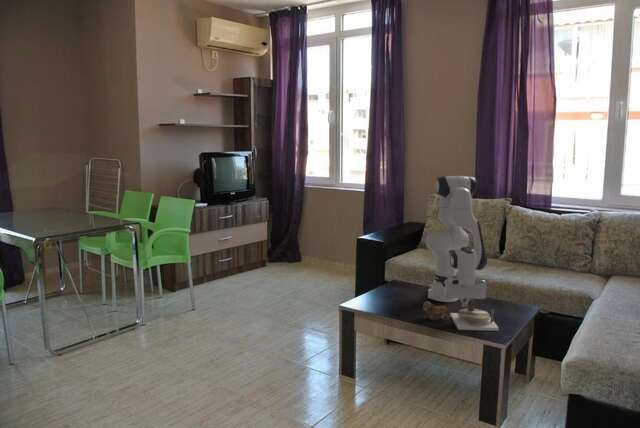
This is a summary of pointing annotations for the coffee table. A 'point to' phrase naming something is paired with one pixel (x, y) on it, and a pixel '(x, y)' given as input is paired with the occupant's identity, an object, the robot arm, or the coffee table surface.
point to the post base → (474, 323)
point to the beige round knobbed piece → (473, 313)
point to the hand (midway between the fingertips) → (464, 306)
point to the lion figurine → (435, 310)
